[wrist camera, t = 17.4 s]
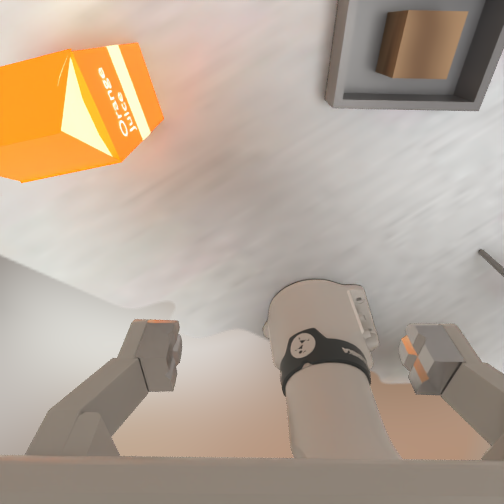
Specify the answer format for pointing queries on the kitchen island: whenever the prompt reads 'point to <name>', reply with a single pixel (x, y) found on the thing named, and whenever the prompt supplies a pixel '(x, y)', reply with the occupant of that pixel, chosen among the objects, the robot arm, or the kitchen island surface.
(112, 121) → the orange juice
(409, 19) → the walnut block
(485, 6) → the bin
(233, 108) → the kitchen island surface
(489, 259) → the grey tripod stand
